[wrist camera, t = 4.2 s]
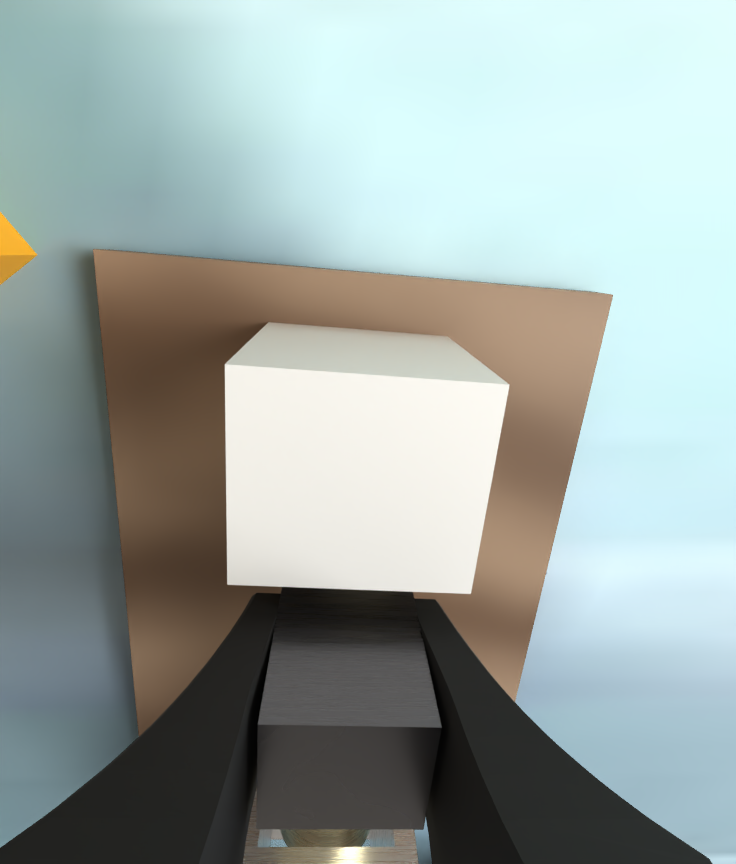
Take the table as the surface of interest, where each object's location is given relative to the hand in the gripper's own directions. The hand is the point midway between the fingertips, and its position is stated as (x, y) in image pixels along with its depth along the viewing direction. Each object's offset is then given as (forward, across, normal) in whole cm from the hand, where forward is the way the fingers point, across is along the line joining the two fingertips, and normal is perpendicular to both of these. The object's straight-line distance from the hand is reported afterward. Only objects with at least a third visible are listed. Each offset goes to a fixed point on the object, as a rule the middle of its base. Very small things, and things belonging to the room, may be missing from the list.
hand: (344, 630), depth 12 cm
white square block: (+4, 0, -4) cm, 6 cm away
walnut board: (+5, 0, +2) cm, 6 cm away
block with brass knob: (+3, 0, +2) cm, 3 cm away
